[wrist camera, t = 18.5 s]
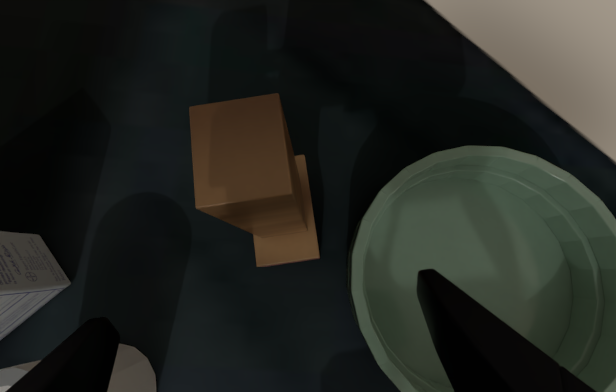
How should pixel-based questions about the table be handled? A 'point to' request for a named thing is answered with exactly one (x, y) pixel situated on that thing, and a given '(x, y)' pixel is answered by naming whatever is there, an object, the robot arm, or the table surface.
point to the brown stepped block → (254, 177)
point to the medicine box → (26, 278)
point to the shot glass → (124, 380)
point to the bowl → (487, 261)
